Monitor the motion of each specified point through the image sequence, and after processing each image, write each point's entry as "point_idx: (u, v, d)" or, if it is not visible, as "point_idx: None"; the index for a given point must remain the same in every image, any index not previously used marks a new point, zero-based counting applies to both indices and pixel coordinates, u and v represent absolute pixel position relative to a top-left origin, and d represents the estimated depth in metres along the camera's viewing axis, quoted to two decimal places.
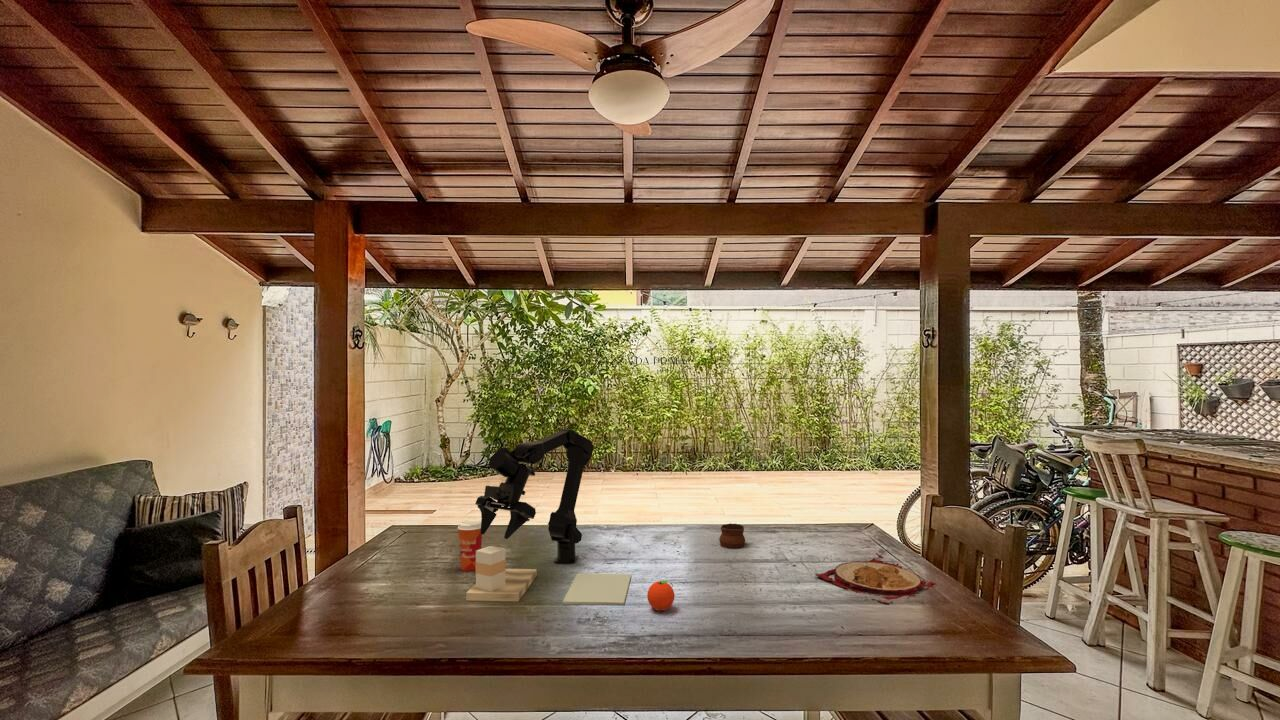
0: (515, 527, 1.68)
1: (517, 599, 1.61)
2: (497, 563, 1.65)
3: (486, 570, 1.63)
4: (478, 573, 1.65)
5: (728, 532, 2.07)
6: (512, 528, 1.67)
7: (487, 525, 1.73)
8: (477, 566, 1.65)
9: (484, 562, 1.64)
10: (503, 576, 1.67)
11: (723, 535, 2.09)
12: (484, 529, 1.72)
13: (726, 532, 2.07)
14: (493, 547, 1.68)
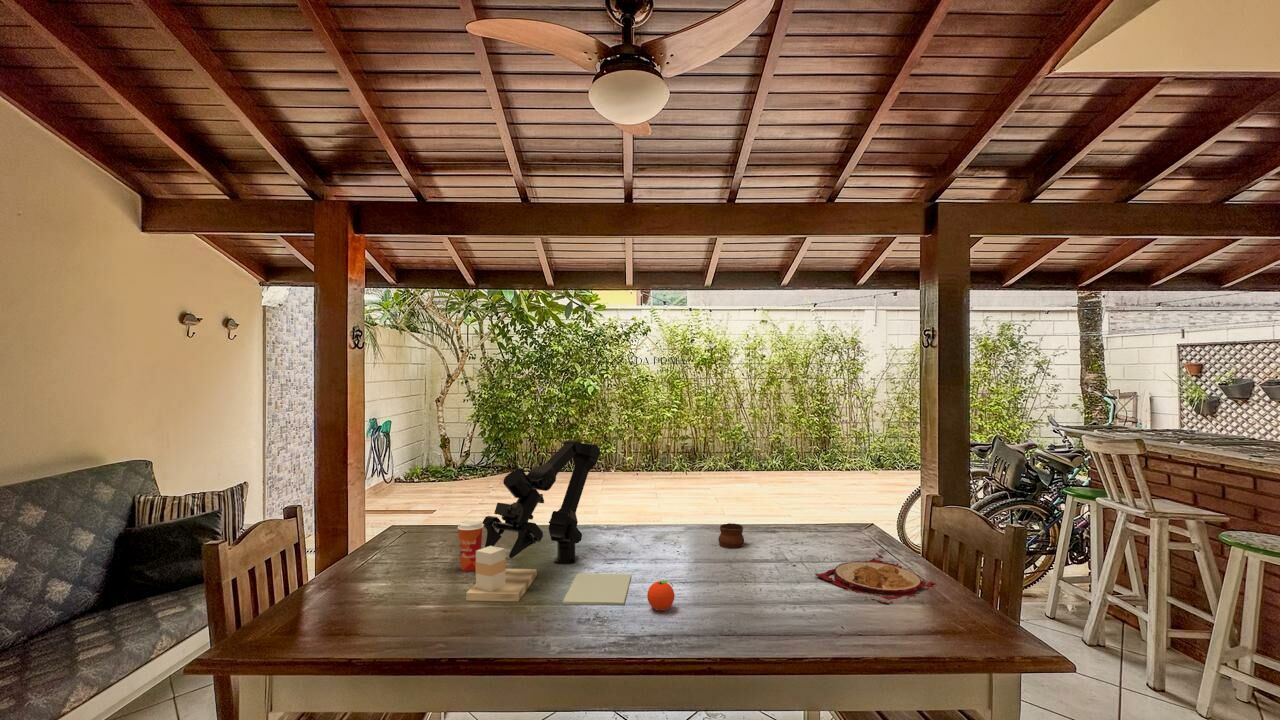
0: (521, 547, 1.68)
1: (517, 599, 1.61)
2: (497, 563, 1.65)
3: (486, 570, 1.63)
4: (478, 573, 1.65)
5: (727, 532, 2.07)
6: (518, 548, 1.68)
7: (491, 545, 1.73)
8: (477, 566, 1.65)
9: (484, 562, 1.64)
10: (503, 576, 1.67)
11: (722, 535, 2.09)
12: None
13: (725, 531, 2.08)
14: (493, 547, 1.68)
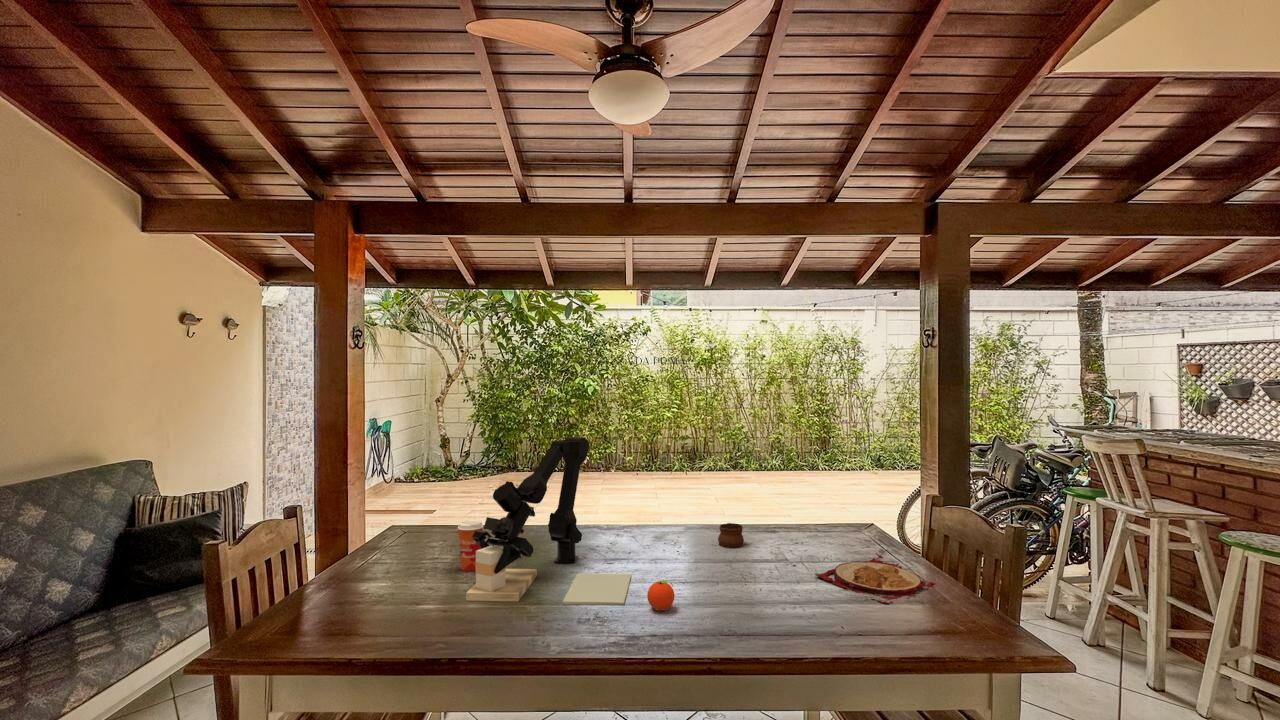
0: (506, 562, 1.66)
1: (517, 599, 1.61)
2: None
3: (486, 570, 1.63)
4: (478, 573, 1.65)
5: (726, 531, 2.08)
6: (503, 563, 1.65)
7: None
8: (477, 566, 1.65)
9: (484, 562, 1.64)
10: (503, 576, 1.67)
11: (722, 534, 2.09)
12: None
13: (724, 531, 2.08)
14: (493, 547, 1.68)
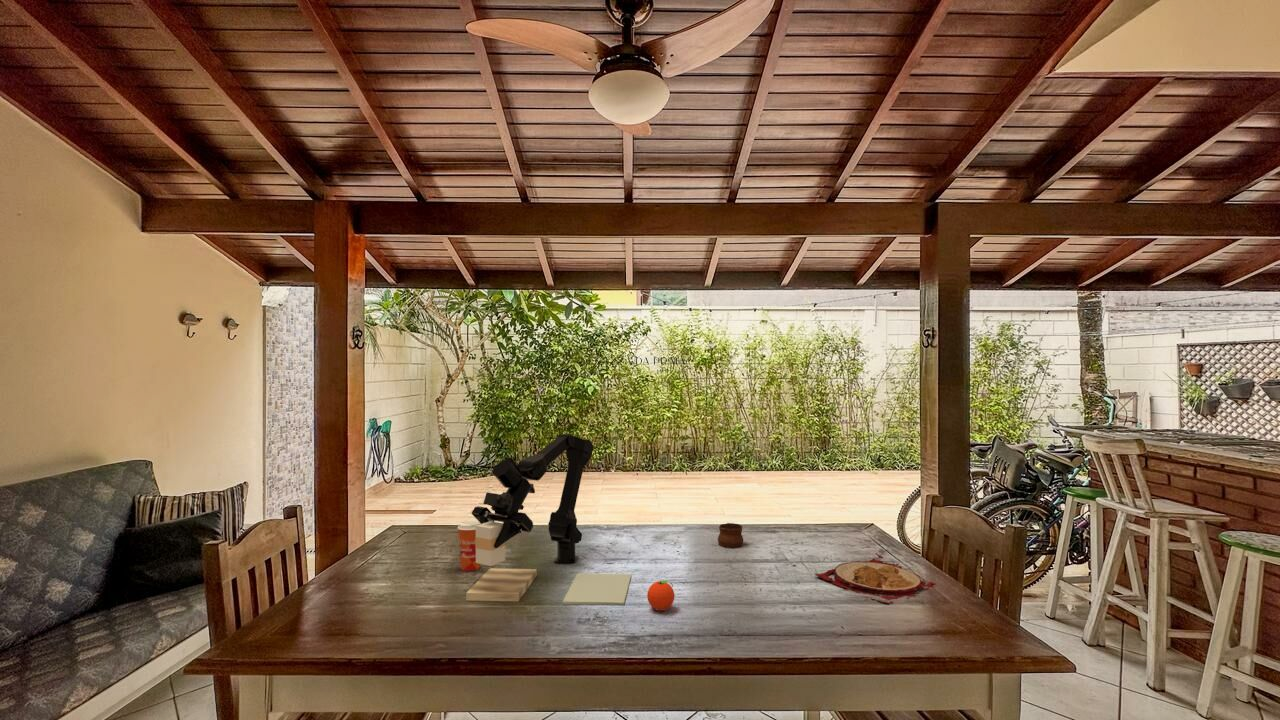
0: (506, 537, 1.66)
1: (517, 599, 1.61)
2: None
3: (486, 544, 1.63)
4: (478, 547, 1.65)
5: (726, 531, 2.08)
6: (503, 537, 1.65)
7: None
8: (477, 541, 1.65)
9: (484, 536, 1.64)
10: (503, 551, 1.67)
11: (721, 534, 2.09)
12: None
13: (724, 531, 2.08)
14: (493, 522, 1.69)
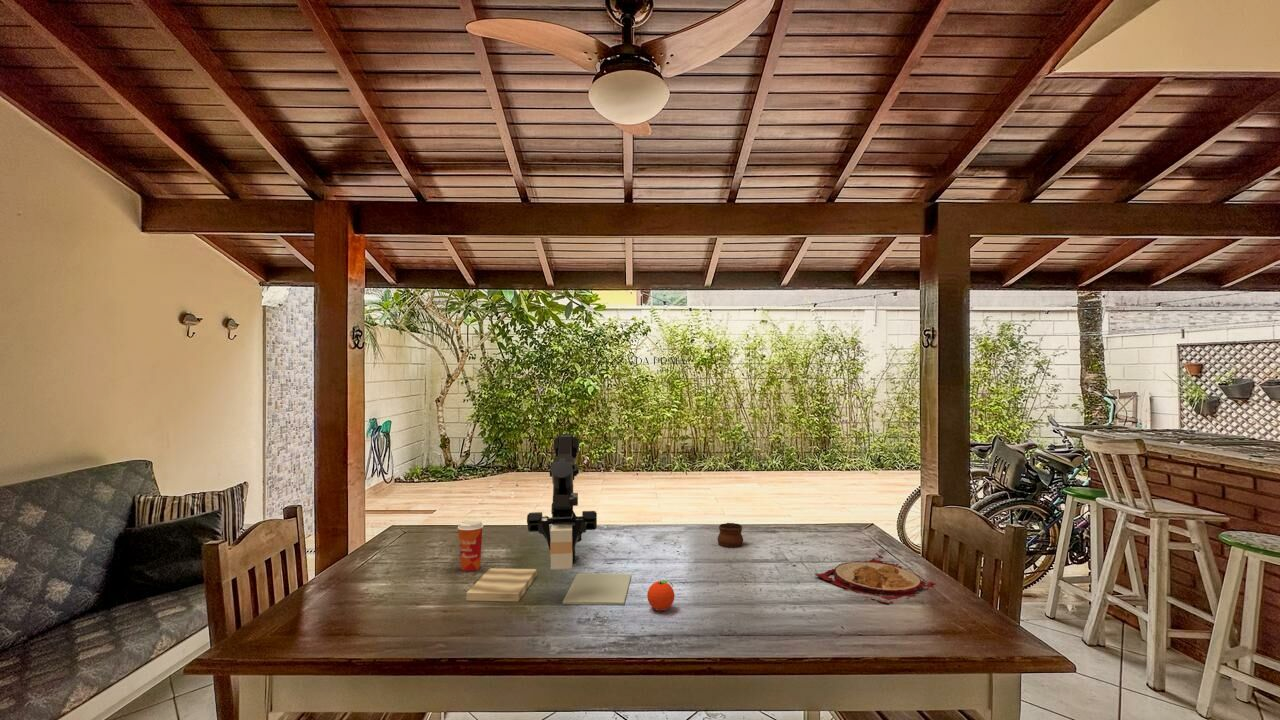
0: (577, 538, 1.64)
1: (517, 599, 1.61)
2: None
3: (566, 547, 1.59)
4: (555, 553, 1.59)
5: (726, 531, 2.08)
6: (577, 538, 1.63)
7: None
8: (553, 546, 1.59)
9: (562, 540, 1.59)
10: None
11: (721, 534, 2.10)
12: None
13: (724, 531, 2.08)
14: (558, 526, 1.64)
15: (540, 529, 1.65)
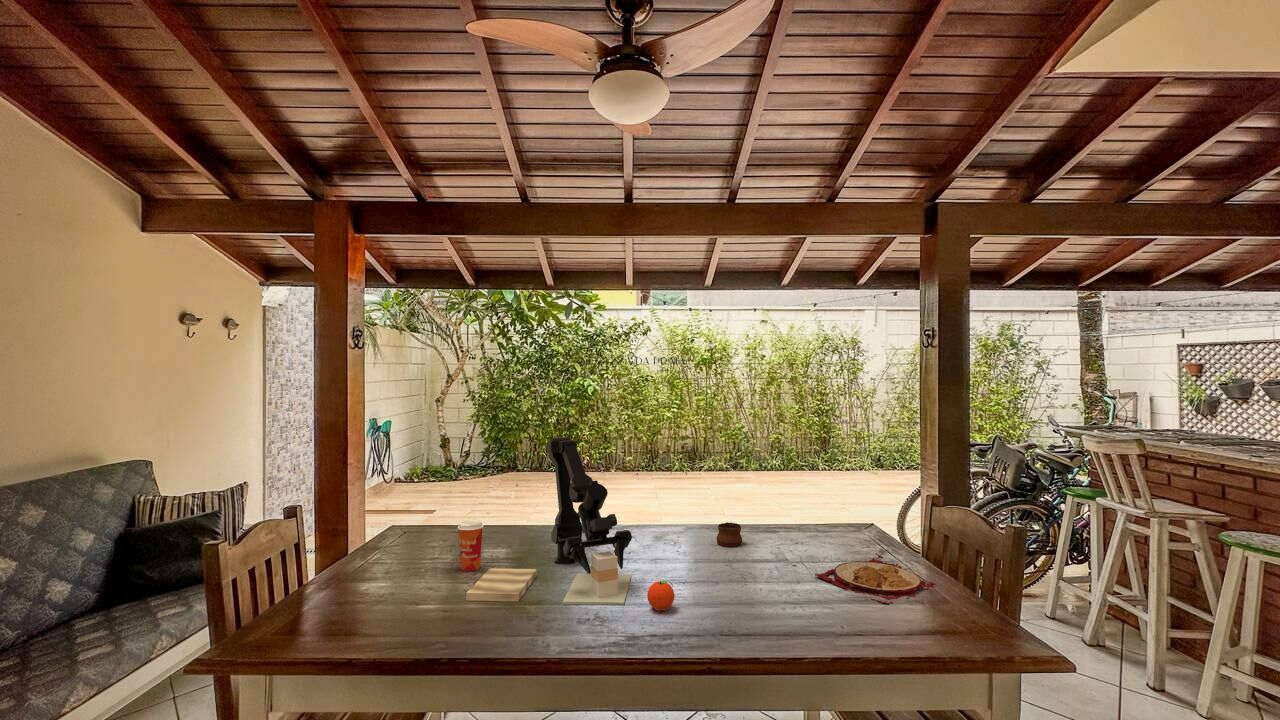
0: None
1: (517, 599, 1.61)
2: None
3: (612, 574, 1.63)
4: (602, 581, 1.62)
5: (725, 531, 2.08)
6: None
7: None
8: (600, 574, 1.62)
9: (609, 567, 1.63)
10: None
11: (720, 534, 2.10)
12: None
13: (723, 530, 2.09)
14: (598, 553, 1.67)
15: (573, 554, 1.65)
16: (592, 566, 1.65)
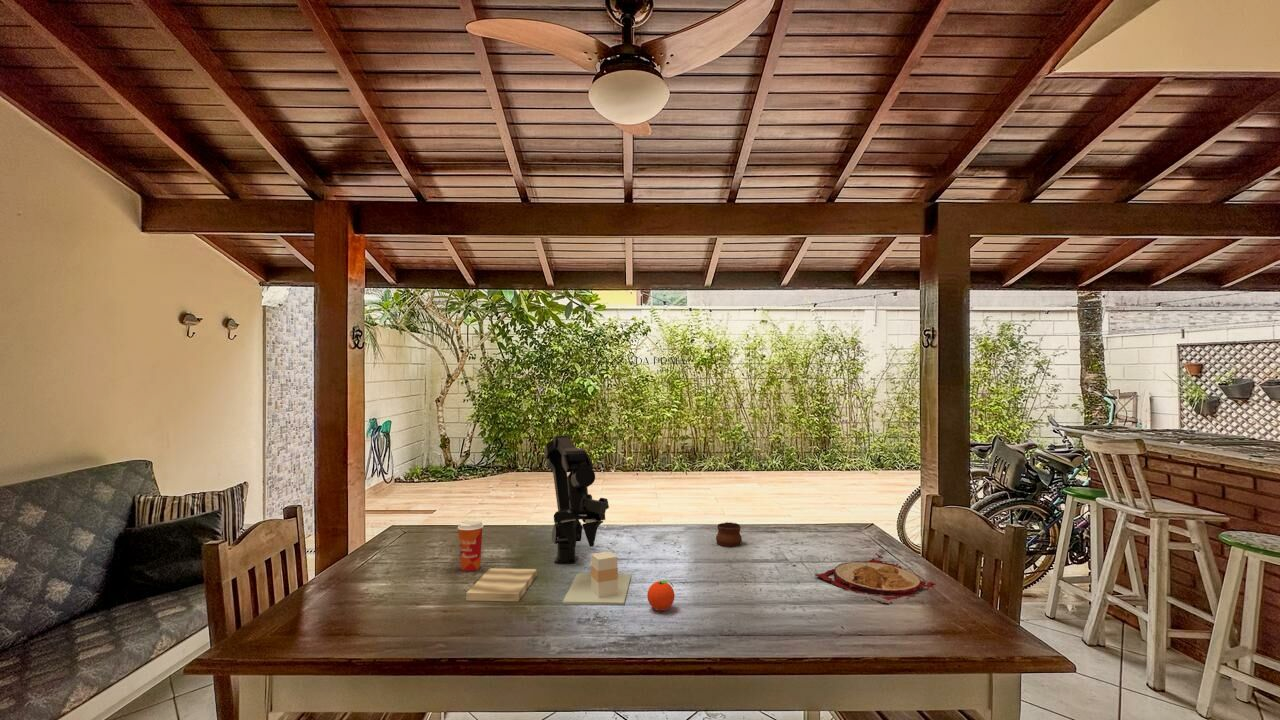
0: None
1: (517, 599, 1.61)
2: None
3: (612, 574, 1.63)
4: (602, 581, 1.62)
5: (724, 531, 2.09)
6: None
7: None
8: (600, 574, 1.62)
9: (609, 567, 1.63)
10: None
11: (720, 534, 2.10)
12: None
13: (722, 530, 2.09)
14: (598, 553, 1.67)
15: (564, 524, 1.72)
16: (592, 566, 1.65)
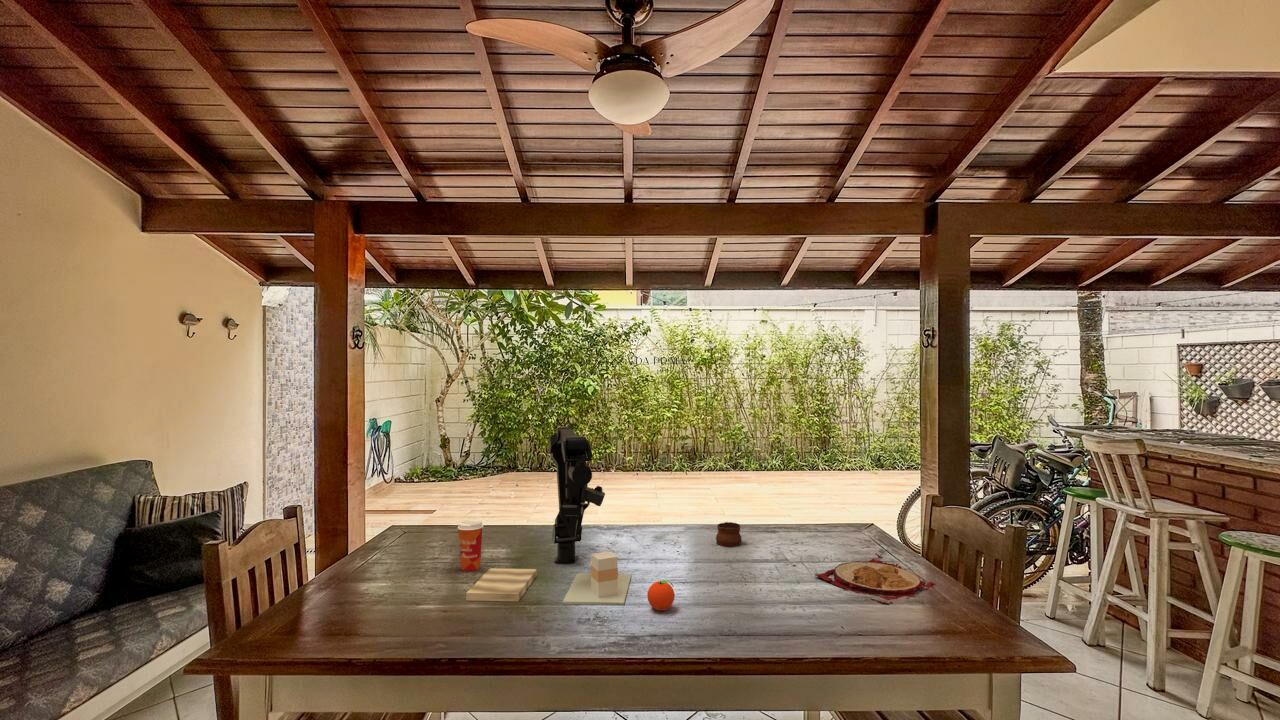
0: None
1: (517, 599, 1.61)
2: None
3: (612, 574, 1.63)
4: (602, 581, 1.62)
5: (724, 530, 2.09)
6: None
7: None
8: (600, 574, 1.62)
9: (609, 567, 1.63)
10: None
11: (719, 533, 2.11)
12: None
13: (722, 530, 2.09)
14: (598, 553, 1.67)
15: None
16: (592, 566, 1.65)
